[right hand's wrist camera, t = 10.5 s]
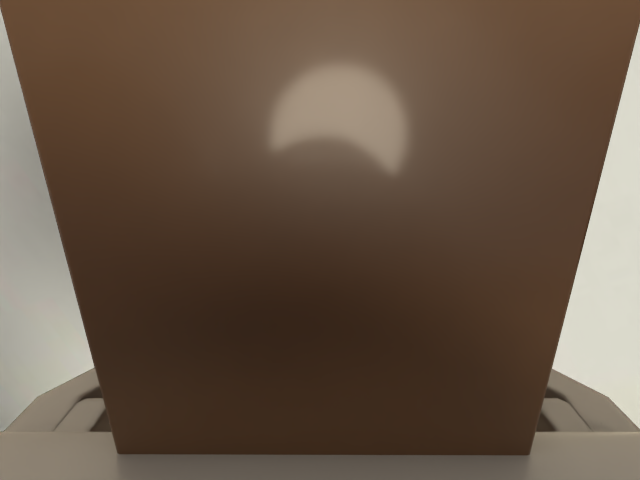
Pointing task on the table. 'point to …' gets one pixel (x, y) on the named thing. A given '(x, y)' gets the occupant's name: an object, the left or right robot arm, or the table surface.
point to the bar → (322, 210)
